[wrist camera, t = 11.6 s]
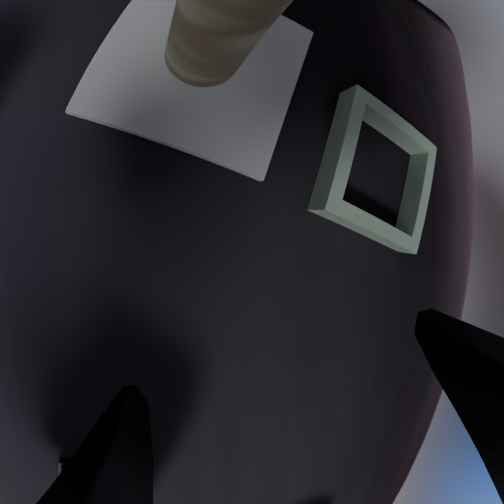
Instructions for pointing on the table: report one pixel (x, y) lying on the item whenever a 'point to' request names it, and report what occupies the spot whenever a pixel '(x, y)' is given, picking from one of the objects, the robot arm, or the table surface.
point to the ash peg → (216, 37)
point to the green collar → (340, 160)
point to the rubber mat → (192, 91)
